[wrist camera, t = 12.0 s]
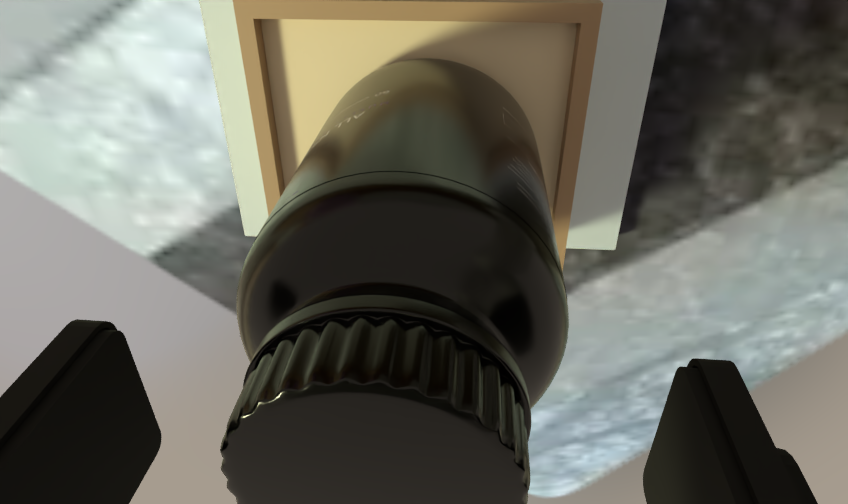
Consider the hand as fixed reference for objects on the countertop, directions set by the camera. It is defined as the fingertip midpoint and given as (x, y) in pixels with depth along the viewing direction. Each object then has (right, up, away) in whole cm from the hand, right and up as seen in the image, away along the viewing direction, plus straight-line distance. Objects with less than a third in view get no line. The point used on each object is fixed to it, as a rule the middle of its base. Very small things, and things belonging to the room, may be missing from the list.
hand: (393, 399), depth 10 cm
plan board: (+1, +8, +13) cm, 15 cm away
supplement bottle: (+1, +6, +9) cm, 11 cm away
